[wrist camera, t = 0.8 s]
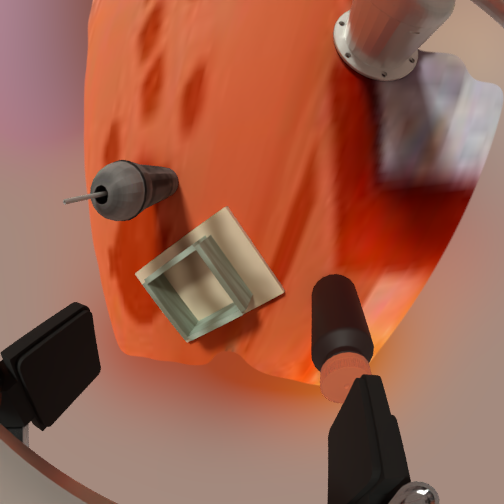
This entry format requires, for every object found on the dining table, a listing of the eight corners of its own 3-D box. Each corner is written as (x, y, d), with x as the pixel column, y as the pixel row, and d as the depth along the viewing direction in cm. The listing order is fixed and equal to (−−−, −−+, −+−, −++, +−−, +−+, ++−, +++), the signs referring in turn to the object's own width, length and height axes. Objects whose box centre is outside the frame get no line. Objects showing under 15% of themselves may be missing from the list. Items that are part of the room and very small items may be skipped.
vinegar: (332, 264, 41) (348, 345, 22) (364, 291, 41) (396, 380, 22) (302, 296, 43) (294, 389, 24) (334, 321, 43) (344, 418, 24)
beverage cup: (186, 206, 42) (102, 242, 23) (145, 205, 43) (53, 236, 25) (187, 158, 40) (98, 160, 21) (145, 159, 41) (48, 166, 22)
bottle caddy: (227, 205, 41) (214, 212, 35) (284, 289, 43) (280, 308, 38) (137, 271, 47) (118, 285, 42) (188, 339, 49) (175, 358, 44)
